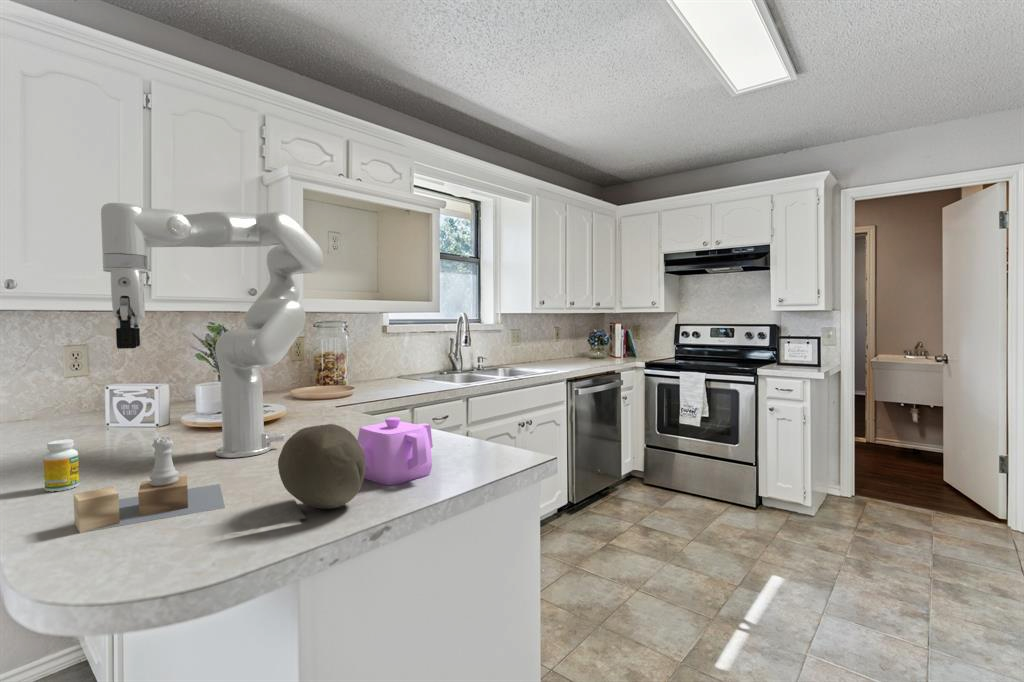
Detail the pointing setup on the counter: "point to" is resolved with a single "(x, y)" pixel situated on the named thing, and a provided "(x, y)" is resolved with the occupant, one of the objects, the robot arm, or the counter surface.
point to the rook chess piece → (163, 464)
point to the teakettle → (396, 451)
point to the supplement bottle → (61, 466)
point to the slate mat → (197, 502)
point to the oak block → (96, 509)
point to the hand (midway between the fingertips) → (129, 347)
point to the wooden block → (163, 497)
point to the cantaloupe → (322, 466)
